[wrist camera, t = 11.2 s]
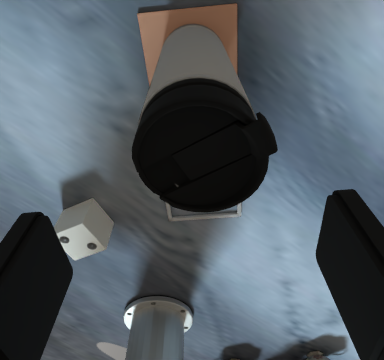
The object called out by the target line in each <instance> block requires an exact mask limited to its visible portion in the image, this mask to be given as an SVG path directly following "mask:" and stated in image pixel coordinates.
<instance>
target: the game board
mask: <svg viewBox="0 0 384 360" xmlns="http://www.w3.org/2000/svg"><path fill="white" fill-rule="evenodd" d="M137 15H138V21H139V27H140V33H141V39H142V45H143V51H144V57H145V63H146V68H147V74H148V80H149V86H150V84H151V81H152V78H153V75H154V72H155V69H156V65H157V62H158V59H159V56H160V53H161V50H162V47H163V44H164V42H165V40H166V38H167V37H168V36H169V35H170V33H172V32H173V31H174V30H175V29H177V28H179V27H180V26H183V25H186V24H200V25H203V26H206V27H208V28H210V29H211V30H213V31H214V32H215V33H216V34H217V35H218V37H219V38H220V40H221V41H222V43H223V46H224V48H225V50H226V52H227V54H228V56H229V59H230V61H231V63H232V65H233V67H234V69H235V72H236V74H237V3H234V4H224V5H214V6H204V7H194V8H185V9H175V10H165V11H155V12H145V13H138V14H137ZM165 203H166V202H165ZM166 208H167V214H168V220H169V221H184V220H199V219H214V218H229V217H241V203H240V204H237V212H234V213H219V214H204V215H189V216H174V217H172V213H171V207H170V205H169V204H168V203H166Z"/></svg>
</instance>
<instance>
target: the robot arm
mask: <svg viewBox="0 0 384 360" xmlns="http://www.w3.org/2000/svg"><path fill="white" fill-rule="evenodd" d="M316 259H317V263H318V265H319V267H320V270H321V272H322V274H323V276H324V279H325V281H326V283H327V285H328V288H329V290H330V292H331V294H332V297H333V299H334V301H335V304H336V306H337V308H338V310H339V313H340V315H341V317H342V319H343V322H344V324H345V326H346V328H347V331H348V333H349V335H350V337H351V340H352V342H353V344H354V346H355V349H356V351H357V353H358V356H359V358H360V360H384V227H383V226H382V224H381V223H380V222H379V220H378V219H377V218H376V217H375V215H374V214H373V213H372V211H371V210H370V209H369V207H368V206H367V205H366V204H365V202H364V201H363V200H362V198H361V197H360V196H359V194H358V193H357V192H356V191H355V190H353V189H348V190H336V191H334V192H333V194H332V195H329V196H328V197H327V200H326V205H325V210H324V215H323V220H322V225H321V230H320V234H319V239H318V244H317V249H316ZM72 276H73V269H72V266H71V264H70V262H69V260H68V257H67V255H66V253H65V251H64V249H63V247H62V245H61V242H60V240H59V238H58V236H57V234H56V232H55V230H54V227H53V225H52V223H51V221H50V219H49V217H48V216H44V214H43V213H42V212H31V213H23V214H21V215H20V216H19V217H18V219H17V220H16V222H15V223H14V224H13V226H12V227H11V229H10V230H9V231H8V233H7V234H6V236H5V237H4V239H3V240H2V241H1V243H0V360H40V359H41V356H42V354H43V351H44V348H45V346H46V343H47V341H48V338H49V336H50V333H51V331H52V328H53V325H54V323H55V320H56V318H57V315H58V313H59V310H60V307H61V305H62V302H63V300H64V297H65V295H66V292H67V290H68V287H69V284H70V282H71V279H72ZM124 322H125V325H126V326H127V327H128V328H129V329H130V334H129V340H128V346H127V352H126V358H125V360H183V358H184V333H185V332H186V331H187V330H189V328H190V327H191V326H192V323H193V314H192V311H191V309H190V308H189V307H188V306H187V305H186V304H184V303H183V302H181V301H179V300H176V299H173V298H170V297H164V296H150V297H144V298H140V299H138V300H135V301H133V302H132V303H130V304H129V305H128V306H127V307H126V309H125V312H124Z"/></svg>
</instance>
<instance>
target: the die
mask: <svg viewBox="0 0 384 360" xmlns="http://www.w3.org/2000/svg"><path fill="white" fill-rule="evenodd" d="M113 226H114V222H113V221H112V220H111V218H110V217H109V216H108V215H107V214H106V212H105V211H104V210H103V209H102V208H101V207H100V205H99V204H98V203H97V202H96V201H95V199H94V198H91V199H89V200H87V201H84V202H82V203H79V204H77V205H74V206H72V207H69V208H67V209H65V210H63V211H62V213H61V215H60V217H59V219H58V221H57V222H56V224H55V226H54V230H55V232H56V234H57V236H58V238H59V240H60V242H61V245H62V247H63V249H64V251H65V252H66V253H67V254H68V255H69V256H70V257H71V258H73V259H74V260H78V259H81V258H83V257H86V256H89V255H92V254H95V253H98V252H100V251H103V250H106V249H107V246H108V242H109V239H110V236H111V232H112V229H113Z"/></svg>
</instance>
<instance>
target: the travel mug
mask: <svg viewBox="0 0 384 360" xmlns="http://www.w3.org/2000/svg"><path fill="white" fill-rule="evenodd" d="M256 116H257V118H258V120H256V117H255V114H254V111H253V109H252V106H251V104H250V102H249V100H248V98H247V95H246V93H245V91H244V89H243V87H242V85H241V82H240V80H239V78H238V76H237V74H236V72H235V69H234V67H233V65H232V63H231V61H230V59H229V56H228V54H227V52H226V50H225V48H224V46H223V43H222V41H221V40H220V38H219V37H218V35H217V34H216V33H215V32H214V31H213V30H211V29H210V28H208V27H206V26H203V25H200V24H186V25H183V26H180V27H179V28H177V29H175V30H174V31H173V32H172V33H170V35H169V36H168V37H167V38H166V40H165V42H164V44H163V47H162V50H161V53H160V56H159V59H158V62H157V65H156V69H155V72H154V75H153V78H152V81H151V84H150V87H149V90H148V93H147V97H146V100H145V103H144V106H143V109H142V112H141V116H140V119H139V123H138V129H137V132H136V135H135V138H134V142H133V146H132V159H133V162H134V165H135V167H136V170H137V172H139V176H140V178H141V179H142V181H143V182H144V184H145V185H146V186H147V187H148V188H149V189H150V190H151V191H152V192H153V193H155V194H157V195H159V196H160V199H161V200H163V201H165V202H166V203H168V204H169V205H171V206H172V207H175V208H178V209H182V210H186V211H192V212H214V211H220V210H224V209H228V208H231V207H233V206H235V205H237V204H240V203H241V202H243V201H244V200H246V199H247V198H249V197H250V196H251V195H252V194H253V193H254V192H255V191H256V190H257V189H258V187H259V186H260V184H261V183H262V181H263V180H264V177H265V175H266V172H267V170H268V162H269V155H271V154H274V153H276V152H277V150H278V149H277V144H276V140H275V136H274V134H273V132H272V129H271V127H270V125H269V123H268V121H267V120H266V118H265V117H264V116H263V115H262V114H261V113H260V112H259V113H257V114H256Z"/></svg>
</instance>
